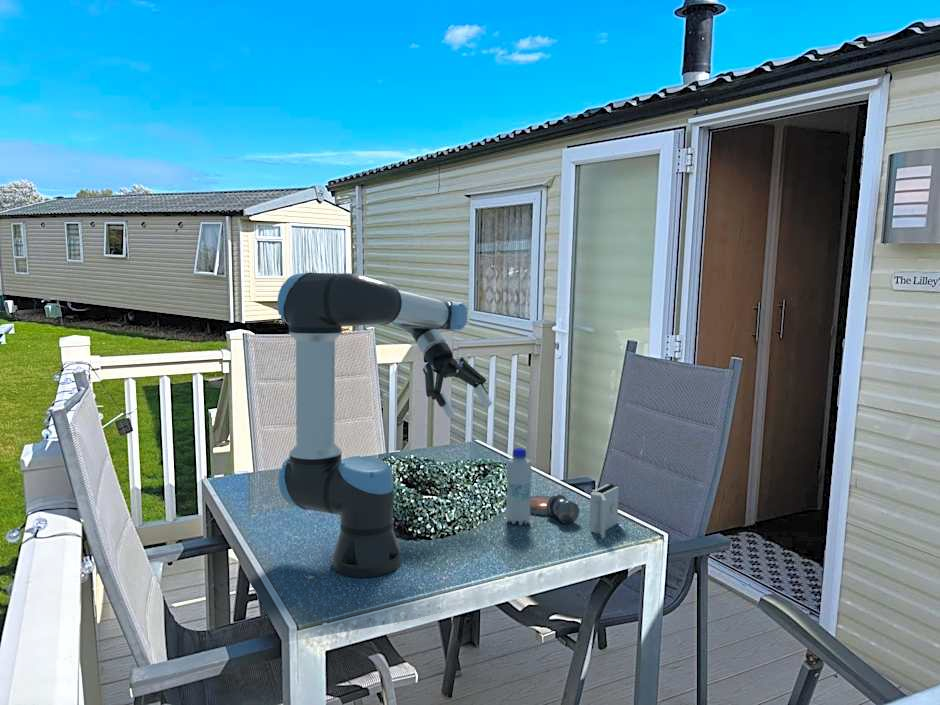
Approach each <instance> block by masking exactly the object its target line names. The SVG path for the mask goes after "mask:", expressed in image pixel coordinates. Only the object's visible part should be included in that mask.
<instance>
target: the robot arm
mask: <svg viewBox="0 0 940 705" xmlns="http://www.w3.org/2000/svg"><path fill="white" fill-rule="evenodd" d="M276 304H277V305H276V308H277V312H278V315H279V316H280V319H281V320H282V321H283V322H284V323H286V324H287V325H288V334H289V335H290V336H291V337H292V338H293V339H294V340H295V370H296V371H295V376H296V377H295V388H296V389H295V390H296V391H295V401H296V402H295V403H296V404H295V405H296V408H295V410H296V411H295V414H296V415H295V417H296V419H295V420H296V421H295V422H296V423H295V424H296V428H295V429H296V431H295V432H296V436H295V437H296V439H295V440H296V441H295V442H296V445H295V446H294V447H293V448H292V449H291V450H289V457H287V458H286V459H285V460H284V462H283V463H282V465H281V467H282V469H279V473H278V488H279V491H280V492H279V493H280V494H281V496H282V498H283V499H284V501H285V502H286V503H287V504H289V505H291V506H292V507H295V508H296V507H297V508H299V509H302V510H304V511H306V510H308V511H315V512H320V513H326V514H331V515H336V516H339V518H340V521H339V522H340V532H339V535H338V539H337V540H336V541H337V542H336V543H335V548H334V549H333V554H332V568H333V569H334V570H335V571H336V572H337V573H338V574H341V575H344V576H346V577H347V576H348V577H353V578H373V577H379V576H383V575H386V574H389V573H391V572H394V571H395V570H397V569H398V568H399V567H400V565H401V563H402V554H401V553H402V552H401V549H400V545H399V543H398V540H397V536H396V534H395V531H394V488H395V484H394V475H393V470H392V467H391V466H390V465H389V463H387V462H386V461H384V460H382V459H379V458H377V457H372V456H360V455H355V456H348V457H345V458H343V459H342V449H340V447H338V445H336V436H335V435H336V431H335V430H336V426H335V424H336V423H335V422H336V418H335V415H336V414H335V413H336V412H335V411H336V408H335V407H336V406H335V405H336V401H335V400H336V396H335V395H336V392H335V391H336V388H335V387H336V386H335V385H336V383H335V382H336V381H335V380H336V374H335V373H336V372H335V371H336V364H335V363H336V356H335V354H336V348H335V347H336V344H335V343H336V340H337V339H338V337H339V336H341V335H342V327H357V326H358V327H359V326H367V325H368V326H369V325H370V326H371V325H378V326H388V325H390V324H392V325H394V326H396V327H398V328H400V329H403V330H405V331H406V332H408V333H410V334H411V335H412V338H413V340H414V341H415V343H416V344H417V346H418V349H419V350H420V352H421V354H422V355H423V358H424V359H425V360H426V364H425V365H424V367H423V368H422V371H423V373H424V380H425V381H424V382H425V394H426V397H428V398H430V397H431V399H432V400H434V401H436V402H437V403H438V406H439V407H440V408H442V409H443V411H444V413H445V415H446V416H447V418H448V419H451V418H452V417H453V415H454V414H455V412H456V411H455V410H454V408H453V405H451V403H450V401H449V399H448V397H447V396H446V394H445V392H444V391H443V392H441V391H442V389H443V388H442V386H443V381H444V379H447V378H452V377H453V378H456V379H458V378H459V379H460V380H461V381H463V382H464V383H467V384H468V385H470V386H471V387H473V388H475V389H474V392H475V393H476V396H477V397H478V399H479V400H480V402H481V404H482V406H483V407H484V408H485V410H487V409H488V408H490V406H492V404H493V402H492V401H491V399H490V396H489V393H488V391H487V389H486V388H485V387H484V384H485V383H486V382H487V379H486V378H485V377H484V376H483V375H482V374H480V372H478V371H477V369H475V368H473V366H472V365H470V363H468V362H467V360H466V359H465V358H464V357H462V356H461V357H460V358H459V359H457V360H456V359H455V358H454V355H453V351H452V350H451V348H450V346H449V344H448V343H447V341H446V339H445V337H444V336H443V333H442V332H441V331H440V330H444V331H445V330H446V331H448V330H449V331H461V330H463V329H464V328H465V327H466V325H467V321H468V309H467V306H466V305H465V304H464V303H463V302H460V301H454V300H453V301H445V300H441V299H436V298H433V297H428V296H425V295H424V296H423V295H420V294H415V293H411V292H407V291H402V290H399V288H397V287H396V286H395V285H393V284H392V283H388V282H384V281H381V280H378V279H375V278H372V277H368V276H364V275H362V274H361V275H360V274H356V273H355V274H354V273H347V272H345V273H344V272H342V273H337V272H336V273H335V272H333V273H332V272H331V273H330V272H327V273H326V272H323V273H322V272H320V273H319V272H311V271H310V272H302V273H295V274H292V275H291V276H289V277H288V278H287V279H286V280H285V282H284V283H282V285H281V287H280V289H279V291H278V295H277V302H276ZM434 373H436V376H435V382H434ZM434 383H435V384H434Z"/></svg>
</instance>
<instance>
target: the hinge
mask: <svg viewBox="0 0 940 705" xmlns="http://www.w3.org/2000/svg"><path fill="white" fill-rule="evenodd" d="M619 487H620V486H619V485H617V484H616V485H614V484H613V483H611V484H608V483H607V484H604V485H603V486H601V487H598V488H596V489H594V490H592V492H590V499H589V500H590V502H589V503H590V504H589V532H590V531H591V532H590V533H592V532H594V533H593V534H599V533H600V534H599V536H600V535H601V536H600V538H601V537H602V538H605V539H606V531H608V530H609V529H610V528H612V527H614V526H616V525H617V524H618V521H619V520H618V518H619V517H618V514H619ZM602 538H601V539H602Z"/></svg>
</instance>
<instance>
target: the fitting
mask: <svg viewBox="0 0 940 705" xmlns="http://www.w3.org/2000/svg"><path fill="white" fill-rule="evenodd" d="M530 513H531V514H530V515H533V514H536V515H535V516H539V515H553V516H552V517H555V516H557V517H556V518H558V520H559V522H561V523H562V524H564V525H570V524H569V523H571V524H573V523H575V522H576V521H577V519H578V518H579V515H580V508H579V505H578V504H577V503H576V502H574V501H573V500H568V499H567V497H565V496H564V495H562V494H560V493H556V494H553V495H552V496H549V495H536V496H530Z"/></svg>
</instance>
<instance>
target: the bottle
mask: <svg viewBox="0 0 940 705" xmlns="http://www.w3.org/2000/svg"><path fill="white" fill-rule="evenodd" d="M526 455H527V450H526V449H525V448H522V447H516V448H513V451H512V457H511V458H509V459H508V460H507V465H506V469H505V470H506V471H505V474H506V475H505V476H506V479H507V483H506V484H507V491H506V497H507V498H506V511H505V514H506V515H505V516H506V517H505V518H506V520H507V522H508V523H509V522H512V523H511V524H512V525H513V524H515V525H516V523H517V522H518V526H523V525H526V524H528V522H529V520H530V516H531V514H530V497H531V483H530V482H531V479H532V472H533V471H532V465H531V460H530V459H529V458H527V456H526Z"/></svg>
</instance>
